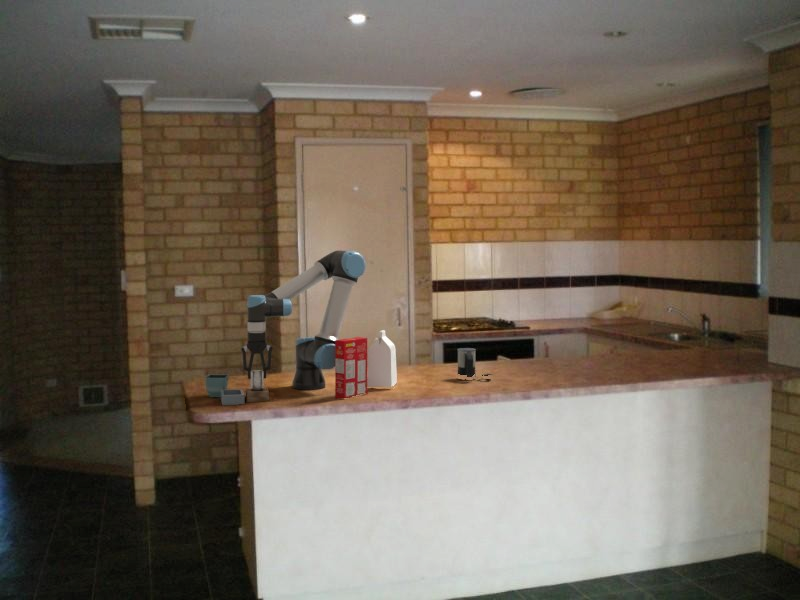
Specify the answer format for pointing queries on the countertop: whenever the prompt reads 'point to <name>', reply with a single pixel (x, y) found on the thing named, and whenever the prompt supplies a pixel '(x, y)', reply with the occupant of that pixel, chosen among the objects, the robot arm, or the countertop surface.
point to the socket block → (257, 395)
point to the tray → (232, 397)
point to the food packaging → (350, 367)
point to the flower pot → (216, 384)
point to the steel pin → (257, 380)
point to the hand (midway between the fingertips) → (257, 386)
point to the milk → (382, 362)
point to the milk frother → (467, 362)
